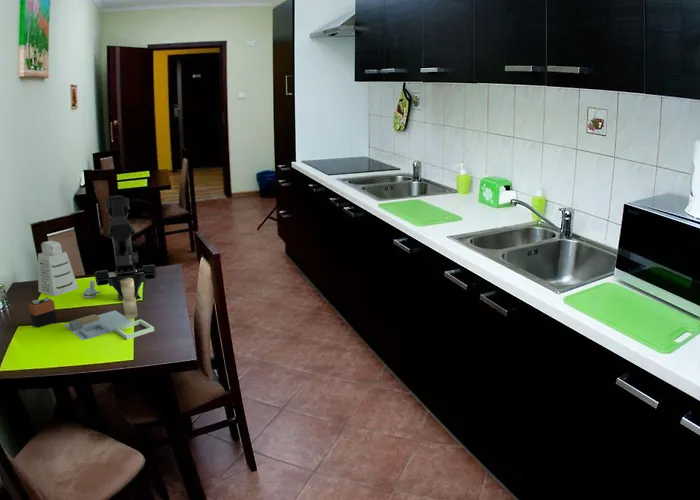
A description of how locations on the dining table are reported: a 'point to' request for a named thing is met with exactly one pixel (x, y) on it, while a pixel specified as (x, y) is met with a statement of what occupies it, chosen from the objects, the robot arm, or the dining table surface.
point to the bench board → (96, 324)
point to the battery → (42, 312)
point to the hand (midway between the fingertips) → (129, 298)
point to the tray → (135, 334)
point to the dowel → (129, 298)
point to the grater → (55, 270)
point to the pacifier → (90, 291)
